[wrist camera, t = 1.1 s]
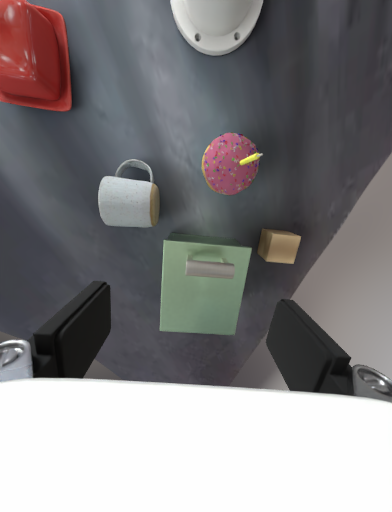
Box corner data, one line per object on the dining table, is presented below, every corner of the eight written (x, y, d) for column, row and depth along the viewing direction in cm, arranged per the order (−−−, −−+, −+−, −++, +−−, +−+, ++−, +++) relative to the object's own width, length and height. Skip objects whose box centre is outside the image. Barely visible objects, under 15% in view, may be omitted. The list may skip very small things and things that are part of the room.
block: (262, 228, 36) (273, 233, 31) (286, 230, 36) (301, 236, 31) (256, 253, 37) (266, 261, 32) (280, 255, 38) (293, 263, 33)
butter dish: (71, 19, 25) (16, -62, 17) (77, 117, 29) (34, 87, 21) (-18, 2, 25) (-119, -92, 17) (0, 105, 28) (-76, 69, 20)
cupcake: (248, 139, 31) (283, 106, 19) (249, 192, 33) (280, 191, 22) (198, 144, 31) (202, 115, 19) (202, 197, 33) (209, 199, 22)
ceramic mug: (161, 224, 35) (153, 232, 27) (117, 222, 34) (97, 228, 27) (161, 163, 32) (153, 152, 24) (113, 159, 31) (90, 147, 24)
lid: (164, 239, 27) (157, 250, 21) (250, 246, 27) (265, 259, 22) (160, 327, 32) (154, 355, 26) (233, 332, 32) (242, 360, 27)
